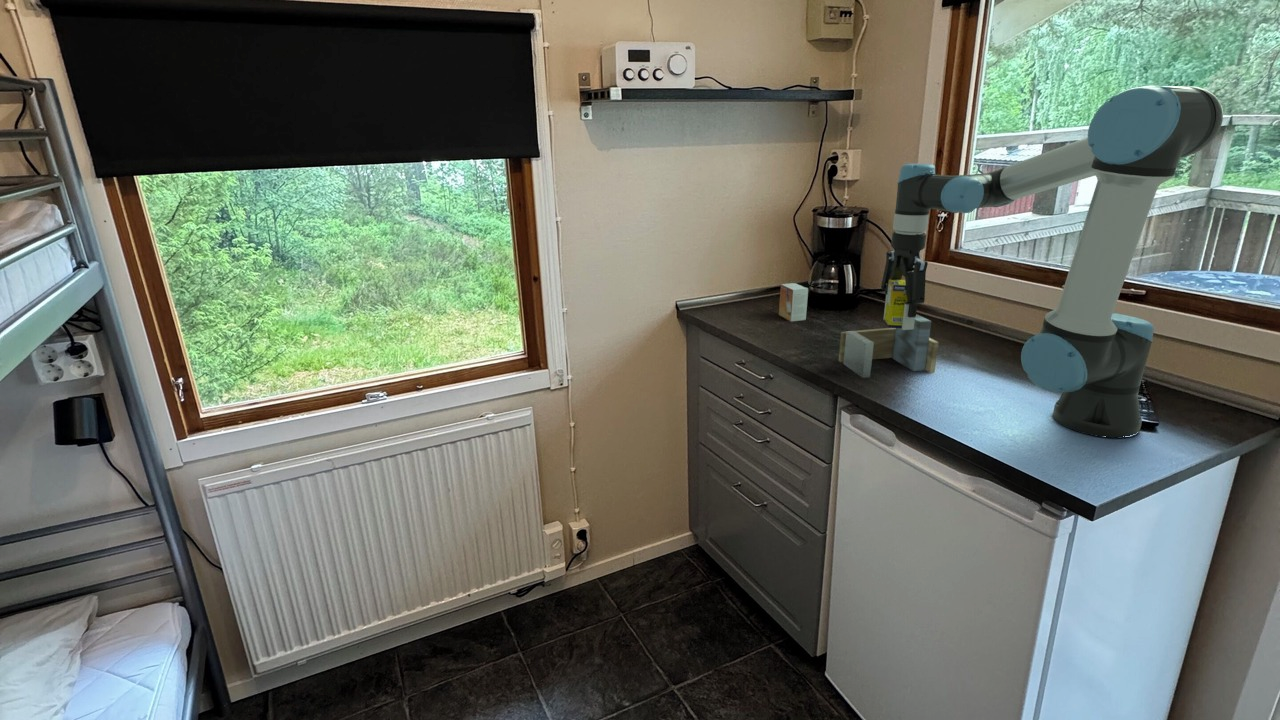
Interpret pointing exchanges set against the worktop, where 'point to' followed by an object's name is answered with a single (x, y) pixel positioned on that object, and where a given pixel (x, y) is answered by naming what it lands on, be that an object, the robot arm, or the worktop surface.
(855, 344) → the bookend
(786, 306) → the small box
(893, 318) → the supplement box
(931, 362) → the rack
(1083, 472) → the worktop surface
